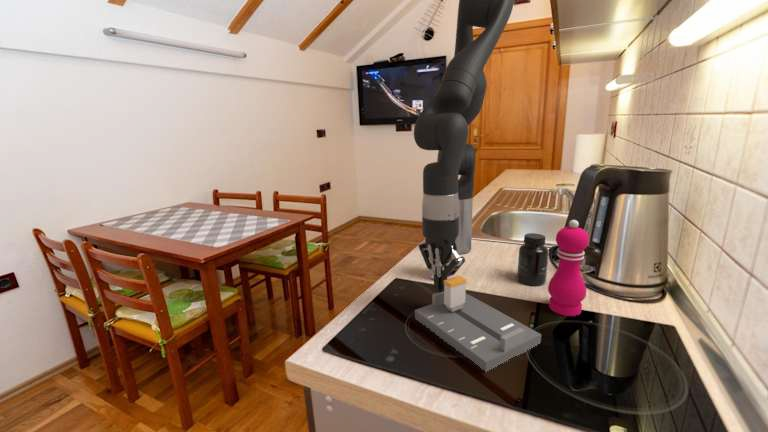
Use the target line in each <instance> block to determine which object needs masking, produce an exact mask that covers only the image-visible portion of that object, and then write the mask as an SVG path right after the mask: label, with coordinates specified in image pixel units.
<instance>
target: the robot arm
mask: <svg viewBox="0 0 768 432" xmlns="http://www.w3.org/2000/svg"><path fill="white" fill-rule="evenodd" d="M514 4H515V0H459V1H458V6H457V7H458V9H457V20H456V31H455V33H456V34H455V42H454V43H455V44H454V55H453V57H452V59H450V61H449V62H448V64H447V66H446V68H445V70H444V72H443V75H442V78H441V81H440V83H439V84H438V88H437V90H436V92H435V93H434V95H433V96H432V97H431V98H430V100H429V101H428V103H427V104H426V105H425V106H424V107H423V109H422V111H421V112H420V113H419V115H418V116H417V119H416V121H415V124H414V126H413V127H414V129H413V138H414V141H415V144H416V145H417V147H418V148H419V149H421V150H425V151H438V153H437V157H436V159H437V160H436V161H435V162H430V163H427V164H426V165H425V166H424V168H423V169H422V170H423V172H422V192H423V193H422V203H421V217H422V218H421V221H422V229H421V230H422V231H421V234H422V236H423V237H424V239H425V242H423V243H419V244H418V249H419V251H420V254H421V257H422V258H423V261H424V263H425V266H426V267H427V270H429V269H431V270H432V273H433V274H434V279H433V287H434V290H435V291H436V292H437V293H438V292H443V291H444V280H446V279H447V276H450V275H454V276H455V275H456V273H457V272H458V270H459V269H460V268H461V267H462V266H463V265H464V263H465V262H466V259H465V257H464V256H460V255H463V254H467V253H469V252H471V251H472V240H473V236H472V235H473V232H472V231H473V206H474V205H473V203H474V202H473V201H474V199H473V197H474V195H473V194H474V187H475V172H476V163H477V162H476V158H477V157H476V155H477V154H476V149H475V146H473V144H471V143H467V142H468V140H469V139H468V137H469V125H471V124H472V122H473V121H474V120H475V119H476V117H478V115H479V114H480V112H481V111H482V108H483V104H484V101H485V95H486V91H487V88H488V87H487V84H488V83H487V79H486V75H485V72H484V68H485V66H486V64H487V63H488V61H489V58H490V57H491V55H492V54H493V51H494V50H495V47H496V46H497V44H498V42H499V40H500V38H501V36H502V34H503V32H504V30H505V29H506V26H507V24H508V22H509V19H510V17H511V15H512V12H513V7H514ZM475 27H476V28H483V29H484V30H483V31H482V32H481V33H480V34H479V35H478V36H477V37H476V38H475V39H474V33H473V32H474V30H473V28H475ZM459 176H460V177H459Z"/></svg>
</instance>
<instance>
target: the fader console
mask: <svg viewBox="0 0 768 432" xmlns="http://www.w3.org/2000/svg"><path fill="white" fill-rule="evenodd" d="M431 299H432V301H431V302H432V303H430V304H428V305H425V306H422V307H420V308H417V309H414V319H415V320H416V321H418V322H419V324H421V323H422V324H421V325H422V326H424V325H425V326H426V327H425V326H424V327H425V328H427V329H428V328H429V329H430V330H429V329H428V330H429V331H430V332H431V333H433V332H434V333H435V334H434V333H433V334H434V335H436V336H437V337H438V336H439V337H438V338H440V339H441V340H442V339H443V340H442V341H444V342H445V343H446V342H447V343H446V344H448V345H449V346H450V345H451V346H452V347H451V346H450V347H451V348H453V347H454V348H455V349H456V350H455V349H454V348H453V349H454V350H455V351H456V352H458V351H459V352H460V354H461V353H462V354H463V355H464V356H463V355H462V354H461V355H462V356H463V357H465V356H466V357H467V358H469V359H470V360H472V361H473V362H474V363H475V364H476V365H478V366H479V367H480V368H481V369H480V368H479V367H478V366H477V367H478V368H479V369H480V370H482V369H483V370H484V371H485V372H486V373H488V372H490V371H492V370H494V369H496V368H497V366H498V365H500V364H502V363H503V364H505V363H507V362H509V361H510V360H509V359H511V358H513V357H515V356H517V357H519V356H521V355H522V354H525V353H526V352H528V351H530V350H532V349H534V348H536V347H537V345H538V344H540V343H541V341H542V334H541V333H540V332H538V331H536V330H535V329H532V328H531V327H529V326H527V325H525V324H523V323H522V322H520V321H518V320H516V319H514V318H512V317H510V316H509V315H507V314H505V313H503V312H501V311H499V310H498V309H496V308H494V307H492V306H490V305H488V303H485V302H483V301H481V300H479V299H477V297H474V296H472V295H470V294H469V293H467V292H465V303H463V308H461V309H459V310H456V311H454V312H452V311H450V310H449V309H447V308H446V305H445V304H444V291H443V292H438V291H437V292H434V293H432V295H431ZM540 345H541V344H540ZM535 346H536V347H535ZM538 346H539V345H538ZM533 347H534V348H533ZM531 348H532V349H531ZM529 349H530V350H529ZM527 350H528V351H527ZM459 352H458V353H459ZM520 354H521V355H520ZM518 355H519V356H518ZM466 357H465V358H466ZM467 358H466V359H467ZM515 358H516V357H515ZM513 359H514V358H513ZM470 360H469V361H470ZM508 360H509V361H508ZM511 360H512V359H511ZM506 361H507V362H506ZM504 362H505V363H504ZM474 363H473V364H474ZM475 364H474V365H475ZM503 364H502V365H503ZM476 365H475V366H476ZM500 366H501V365H500ZM495 367H496V368H495ZM498 367H499V366H498ZM493 368H494V369H493ZM491 369H492V370H491ZM483 370H482V371H483ZM489 370H490V371H489ZM484 371H483V372H484ZM487 371H488V372H487ZM485 372H484V373H485Z"/></svg>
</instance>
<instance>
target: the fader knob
mask: <svg viewBox="0 0 768 432" xmlns="http://www.w3.org/2000/svg"><path fill="white" fill-rule="evenodd" d="M466 283H467V278H465V277H464V276H461V275H457V276H455V275H454V277H452V278H449V279H446V280H444V304H445V305H446V308H447V309H449V310H450V311H452V312H454V311H456V310H459V309H461V308H463V303H465V293H467V292H466V290H467V289H466V288H467V287H466Z"/></svg>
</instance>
